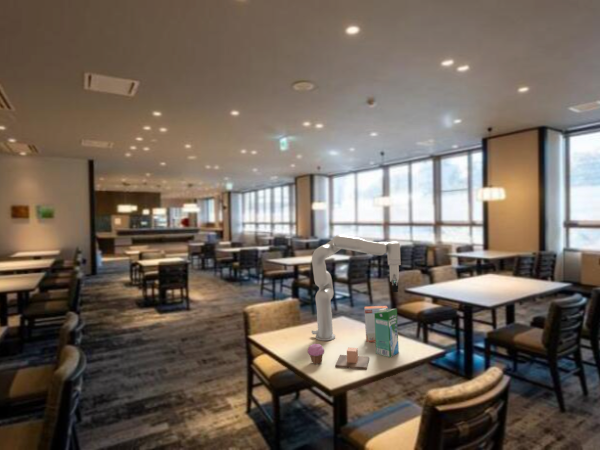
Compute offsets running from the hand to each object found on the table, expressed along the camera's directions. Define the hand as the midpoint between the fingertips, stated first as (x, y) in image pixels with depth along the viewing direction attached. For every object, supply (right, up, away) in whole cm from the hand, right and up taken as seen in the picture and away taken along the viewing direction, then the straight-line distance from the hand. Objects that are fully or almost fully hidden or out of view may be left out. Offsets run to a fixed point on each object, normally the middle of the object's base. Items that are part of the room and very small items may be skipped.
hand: (395, 290), depth 218 cm
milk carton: (-9, -32, -17) cm, 38 cm away
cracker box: (-10, -32, +4) cm, 34 cm away
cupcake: (-49, -34, -26) cm, 65 cm away
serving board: (-30, -33, -29) cm, 53 cm away
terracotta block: (-30, -32, -29) cm, 52 cm away
